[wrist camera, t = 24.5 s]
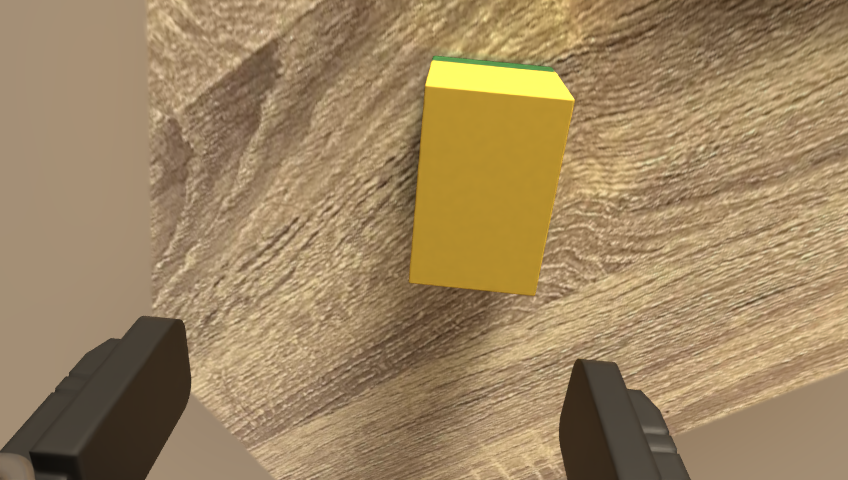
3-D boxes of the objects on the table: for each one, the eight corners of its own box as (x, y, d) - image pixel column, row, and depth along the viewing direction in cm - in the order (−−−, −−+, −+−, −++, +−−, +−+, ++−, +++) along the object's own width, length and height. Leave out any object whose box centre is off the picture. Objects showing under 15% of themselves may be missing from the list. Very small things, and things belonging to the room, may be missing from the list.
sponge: (418, 222, 25) (408, 283, 21) (433, 55, 22) (425, 84, 17) (522, 233, 25) (535, 296, 21) (552, 66, 22) (575, 99, 17)
